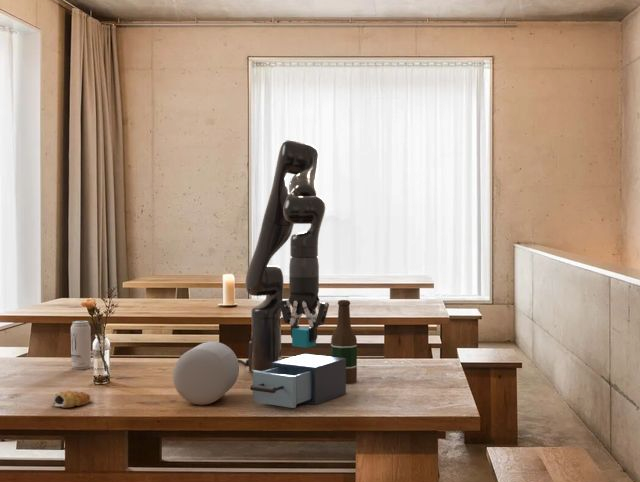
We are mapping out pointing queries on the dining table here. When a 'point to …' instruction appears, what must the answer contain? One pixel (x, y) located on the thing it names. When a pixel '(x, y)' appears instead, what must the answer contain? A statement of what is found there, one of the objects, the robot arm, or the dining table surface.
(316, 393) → the cabinet
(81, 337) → the energy drink can
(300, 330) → the teal cube block
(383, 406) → the dining table surface
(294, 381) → the drawer
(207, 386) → the grey rounded piece
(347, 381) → the beer bottle
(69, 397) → the pastry
